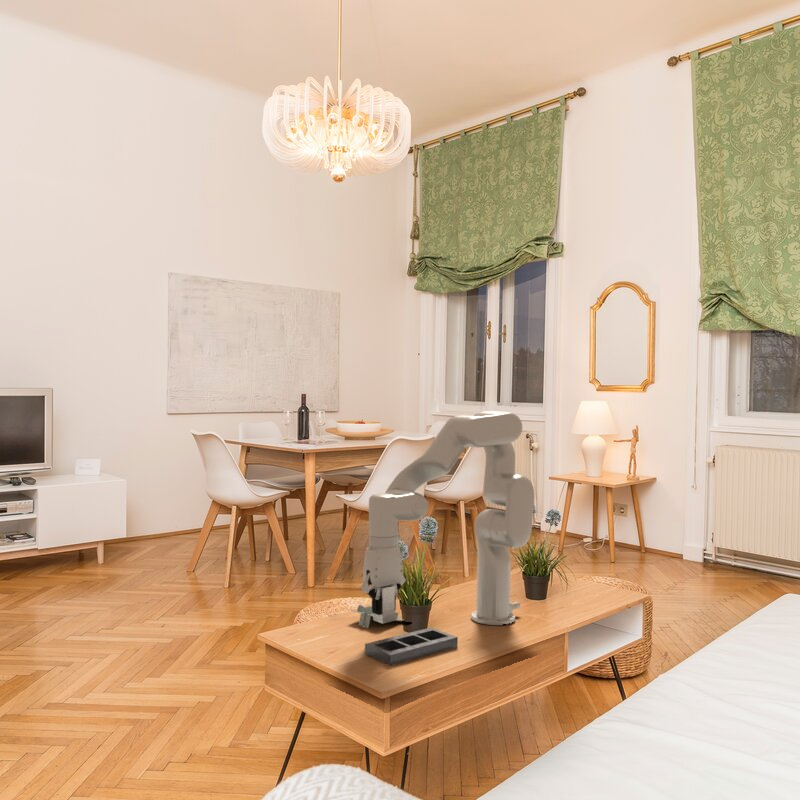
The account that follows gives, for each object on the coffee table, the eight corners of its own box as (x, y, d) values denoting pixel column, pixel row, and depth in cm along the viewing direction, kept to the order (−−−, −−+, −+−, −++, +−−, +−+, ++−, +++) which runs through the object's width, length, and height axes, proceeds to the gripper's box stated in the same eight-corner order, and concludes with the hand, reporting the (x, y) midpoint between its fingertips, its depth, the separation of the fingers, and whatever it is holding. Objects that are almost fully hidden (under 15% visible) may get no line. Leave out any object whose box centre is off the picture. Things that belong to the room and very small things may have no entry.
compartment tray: (431, 636, 192) (431, 627, 192) (457, 647, 184) (457, 637, 184) (364, 653, 178) (365, 643, 178) (390, 665, 170) (390, 655, 170)
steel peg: (385, 616, 190) (385, 582, 190) (394, 620, 187) (394, 585, 187) (373, 620, 188) (372, 585, 188) (382, 623, 185) (382, 588, 185)
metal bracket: (385, 612, 194) (345, 601, 204) (380, 634, 193) (340, 622, 203) (416, 616, 205) (377, 606, 215) (412, 637, 204) (373, 626, 213)
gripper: (399, 535, 196) (399, 602, 196) (348, 543, 185) (349, 615, 185) (417, 539, 190) (417, 608, 190) (366, 548, 179) (367, 622, 179)
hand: (383, 611), depth 188 cm, fingers closed on steel peg, 4 cm apart
